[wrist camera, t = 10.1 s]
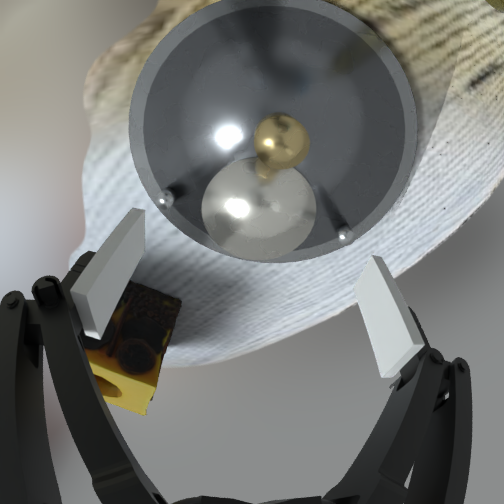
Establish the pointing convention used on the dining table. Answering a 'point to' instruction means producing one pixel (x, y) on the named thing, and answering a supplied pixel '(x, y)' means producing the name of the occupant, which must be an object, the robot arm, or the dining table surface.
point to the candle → (132, 347)
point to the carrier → (273, 128)
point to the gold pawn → (497, 4)
